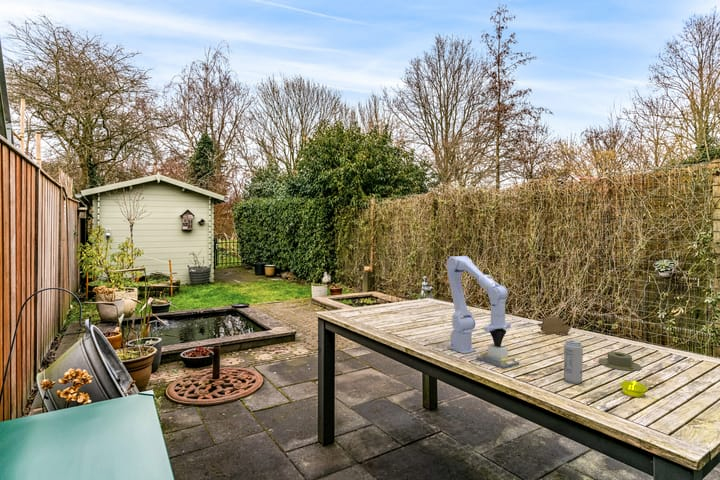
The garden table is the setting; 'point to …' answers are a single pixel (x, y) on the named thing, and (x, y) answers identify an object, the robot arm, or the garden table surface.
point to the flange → (620, 362)
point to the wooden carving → (554, 325)
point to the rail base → (498, 361)
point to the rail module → (497, 352)
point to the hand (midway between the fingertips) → (497, 346)
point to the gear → (633, 388)
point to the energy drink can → (573, 361)
